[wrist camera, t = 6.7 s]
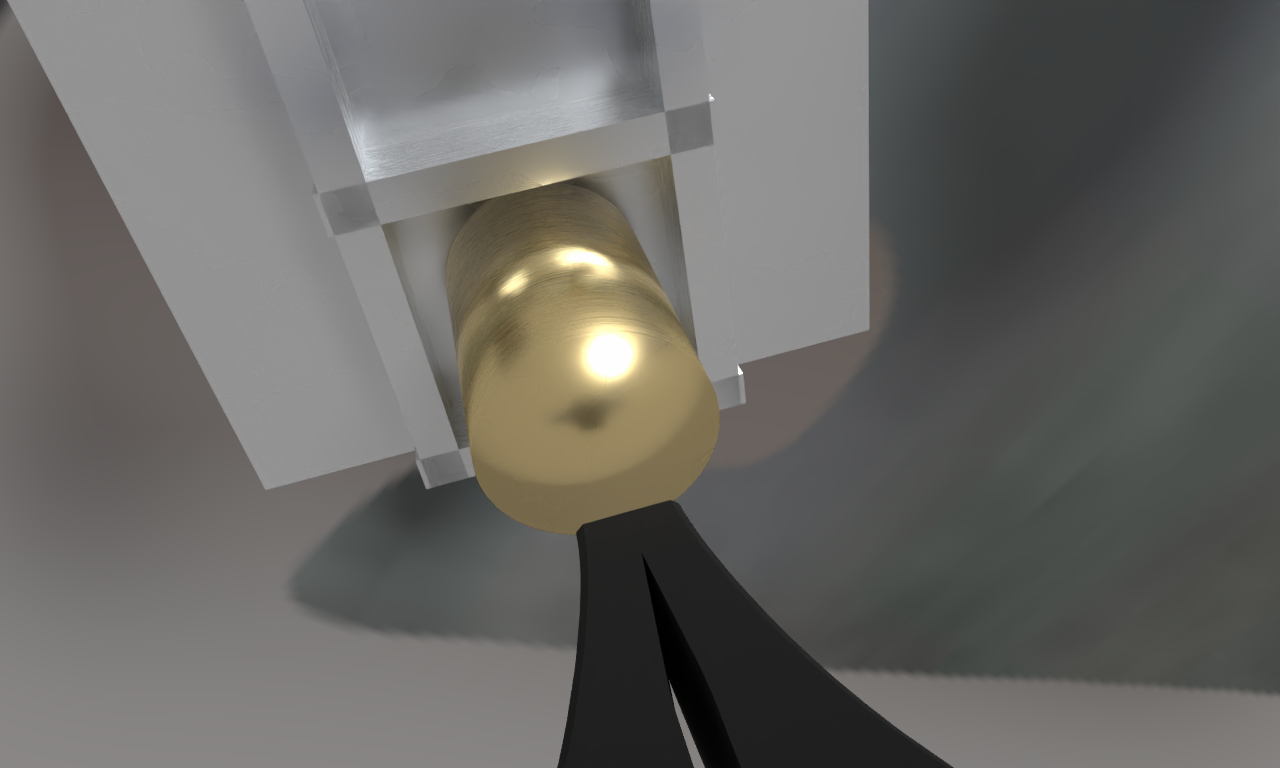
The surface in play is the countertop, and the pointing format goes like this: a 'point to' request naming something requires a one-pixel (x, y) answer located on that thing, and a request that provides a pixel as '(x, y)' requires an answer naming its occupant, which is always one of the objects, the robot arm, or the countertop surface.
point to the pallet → (459, 183)
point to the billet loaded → (572, 362)
